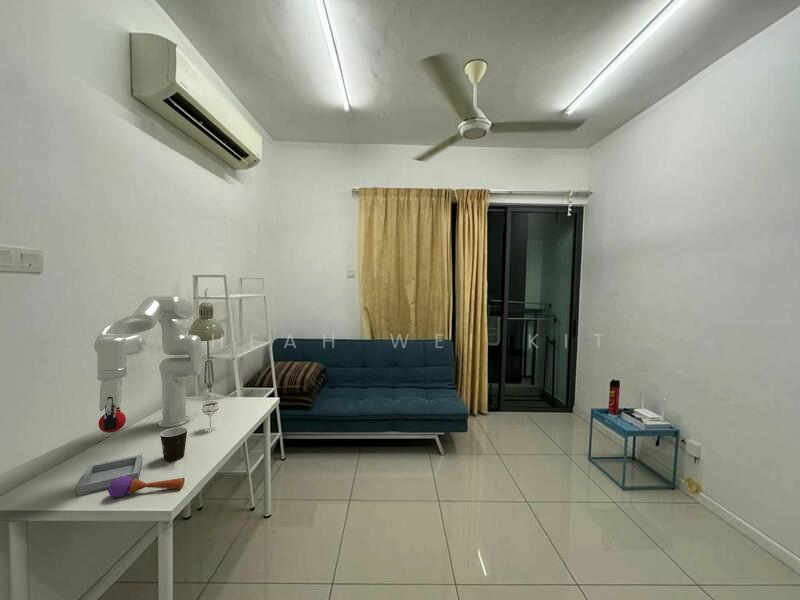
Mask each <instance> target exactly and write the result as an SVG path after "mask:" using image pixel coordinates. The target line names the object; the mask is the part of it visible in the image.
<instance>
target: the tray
mask: <svg viewBox="0 0 800 600" xmlns="http://www.w3.org/2000/svg"><path fill="white" fill-rule="evenodd" d="M142 466H143V454H137V455H132V456H127V457H122V458H118V459H117V458H116V459H113V460H109V461H103V462H102V461H101V462H99V463H94V464H93V463H92V464H89V465H87V466H86V469H85V471H84V472H83V475H82V476H81V478H80V480H79V482H78V483H77V486H76V496H77V497H79V496H84V495H88V494H92V493H97V492H100V491H104V490H108V488H109V485H110V483H111V482H112V481H113V480H114V479H116V478H118V477H120V476H129V477H131V479H132V480H134V479H135V478H136V479H138V480H140V476H141V471H142Z"/></svg>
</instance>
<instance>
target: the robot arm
mask: <svg viewBox="0 0 800 600" xmlns="http://www.w3.org/2000/svg"><path fill="white" fill-rule="evenodd" d="M194 307H195V306H194V305H193V303H192V302H191V301H190V300H188V299H186V298H183V297H181V296H177V295H151V296H147V297H146V298H145V299H144V300H143V301H142V303H140V305H139V306H138V308H137V309H136V310H135V311H134V312H133V313H132V314H131V315H128V316H125V317H123V318H121V319H117V320H115V321H113V322H112V323H110V324H108V325H107V326H106V327H104V329H103V330H102V331H100V333H99V334H98V335H97V337H96V339H95V340H94V343H93V349H94V351H95V352H96V357H97V360H96V361H97V362H96V364H97V365H96V369H97V371H96V374H97V376H96V377H97V378H96V380H97V381H100V384H99V385H100V387H99V408H98V410H99V411H100V412H103V411H104V414H105V416H104V431H107V430H113V429H116V428H117V417H116V409H117V410H118V411H120V412H121V409H120V408H121V404H122V400H123V379H124V378H125V379H126V378H127V372H128V371H127V356H134V355H138V354H141V352H143V351H144V350H145V348H146V346H147V345H146V344H147V341H146V339H145V337H144V336H143V335H141V334H139V333H143V332H147V331H149V330H152V329H153V328H154V327H155V326H156V325H157V323H159V325H160V328H161V341H162V342H161V343H162V345H161V346H162V351H163V353H164V354H165V355H168V356H172V357H167V358H163V360H161V362H160V363H159V373H160V378H161V393H162V394H161V397H162V398H161V404H162V405H161V410H162V411H161V420H159V421H158V423H157V424H158V427H160V428H176V427H179V426H183V425H185V424H186V423H188V422H190V418H191V417H190V416H188V415H187V385H186V382H185V381H184V379H183V378H191V377H193V378H194V377H198V376H200V375H201V373H202V371H203V344H202V339H201V337H200V336H199V335H196V334H184V333H185V332H184V324H183V322H182V320H190V319H191V318H192V317H193V315H194V314H195V313H194V312H195V308H194ZM185 355H186V356H185ZM112 407H114V408H112ZM112 410H114V412H113V411H112Z"/></svg>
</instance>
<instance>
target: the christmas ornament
mask: <svg viewBox="0 0 800 600" xmlns="http://www.w3.org/2000/svg"><path fill="white" fill-rule="evenodd" d="M112 408H114V407H112ZM112 411H113V412H114V410H112ZM104 416H105V413H104V414H103V415H101V417H100V418H99V420H98V428H99V430H101V432H102V433H103V432H104V433H108V434H109V433H110V434H111V433H116V432H118V431H119V430H121V429H122V428H124V426H125V424H126V422H127V418H126V415H125V413H123V412H122V411H121V410H120V411H118V410H117V409H116V417H117V428H116V429H113V430H107V431H104Z"/></svg>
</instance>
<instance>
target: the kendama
mask: <svg viewBox="0 0 800 600" xmlns="http://www.w3.org/2000/svg"><path fill="white" fill-rule="evenodd" d="M184 485H185V477H180V478H172V479H166V480H160V481H152V482H145V481H142V480H140V479H139V480H138V479H136V478H135V479H134V480H132V479H131V477H129V476H120V477H118V478H116V479H114V480H113V481H112V482H111V483H110V485H109V488H108V489H107V493H108V494H109V496H110V497H112V498H114V499H116V498H123V497H124V496H127V495H128V494H129V493H130V494H133V493H135V492H138V491H140V490H142V489H144V488H154V489H155V488H156V489H168V490H170V489H171V490H172V489H173V490H182V489H183V488H184Z"/></svg>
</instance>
